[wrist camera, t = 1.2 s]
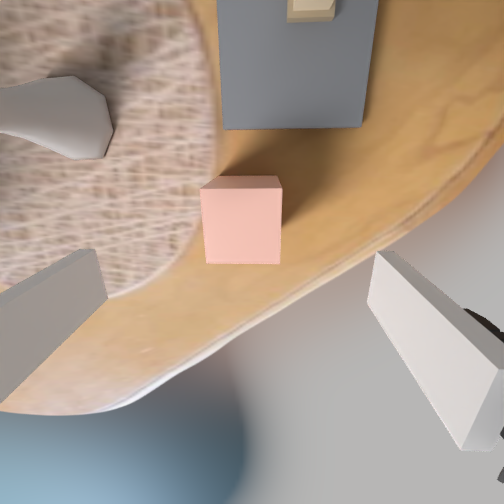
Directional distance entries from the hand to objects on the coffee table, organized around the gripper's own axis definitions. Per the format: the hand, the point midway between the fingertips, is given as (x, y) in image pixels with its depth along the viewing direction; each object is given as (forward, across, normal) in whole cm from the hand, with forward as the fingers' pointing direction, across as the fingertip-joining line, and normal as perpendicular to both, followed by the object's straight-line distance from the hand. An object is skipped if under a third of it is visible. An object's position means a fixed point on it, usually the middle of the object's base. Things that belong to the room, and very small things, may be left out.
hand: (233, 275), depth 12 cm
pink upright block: (+16, 0, 0) cm, 16 cm away
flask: (+16, -16, +8) cm, 24 cm away
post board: (+16, +4, +16) cm, 23 cm away
